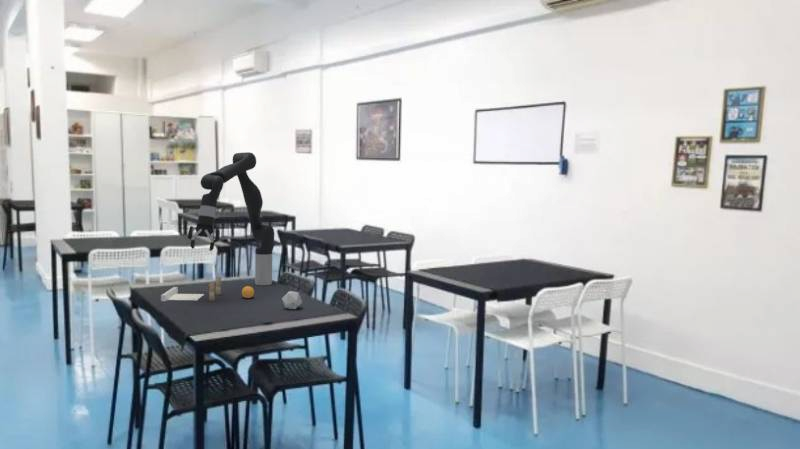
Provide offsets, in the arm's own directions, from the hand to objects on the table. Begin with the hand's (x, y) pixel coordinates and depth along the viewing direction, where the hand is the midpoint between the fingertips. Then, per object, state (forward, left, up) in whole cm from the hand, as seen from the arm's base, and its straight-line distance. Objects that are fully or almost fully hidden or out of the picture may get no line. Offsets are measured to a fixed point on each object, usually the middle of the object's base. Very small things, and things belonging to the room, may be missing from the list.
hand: (201, 249), depth 286 cm
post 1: (-3, +4, -25) cm, 26 cm away
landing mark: (-10, -10, -25) cm, 29 cm away
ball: (-10, +20, -22) cm, 32 cm away
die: (+11, +44, -26) cm, 52 cm away
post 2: (-16, +4, -25) cm, 30 cm away
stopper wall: (-10, -18, -25) cm, 32 cm away
